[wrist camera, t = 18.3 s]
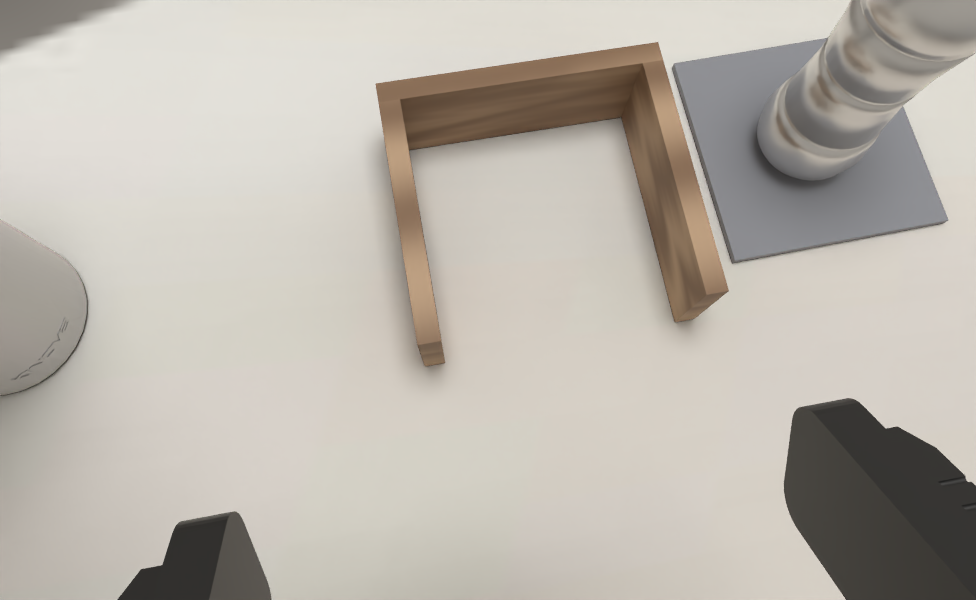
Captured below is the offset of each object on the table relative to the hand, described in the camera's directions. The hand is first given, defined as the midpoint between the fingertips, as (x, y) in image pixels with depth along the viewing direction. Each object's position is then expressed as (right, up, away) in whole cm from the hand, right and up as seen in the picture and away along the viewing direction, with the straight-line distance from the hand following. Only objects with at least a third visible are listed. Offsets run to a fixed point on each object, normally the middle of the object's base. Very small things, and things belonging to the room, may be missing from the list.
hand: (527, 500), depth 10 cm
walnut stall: (+3, +7, +34) cm, 35 cm away
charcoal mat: (+20, +13, +36) cm, 43 cm away
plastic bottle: (+19, +13, +36) cm, 42 cm away
